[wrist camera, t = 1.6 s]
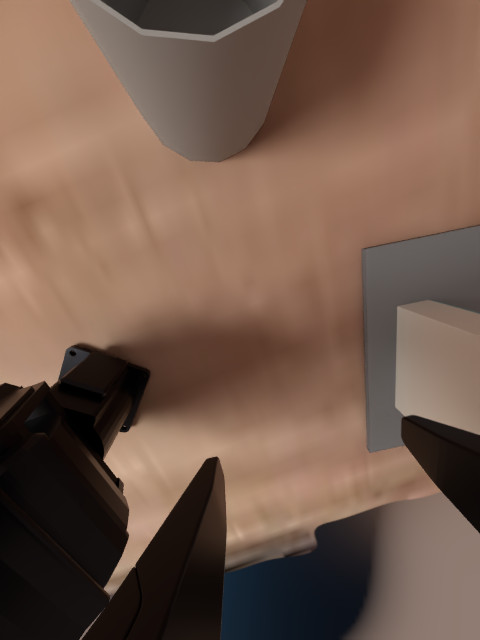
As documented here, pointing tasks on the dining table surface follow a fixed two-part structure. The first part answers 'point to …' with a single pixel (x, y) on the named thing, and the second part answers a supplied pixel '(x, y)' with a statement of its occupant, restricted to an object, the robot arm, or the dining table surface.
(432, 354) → the cream flat block
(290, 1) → the cup
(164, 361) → the dining table surface
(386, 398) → the mat
